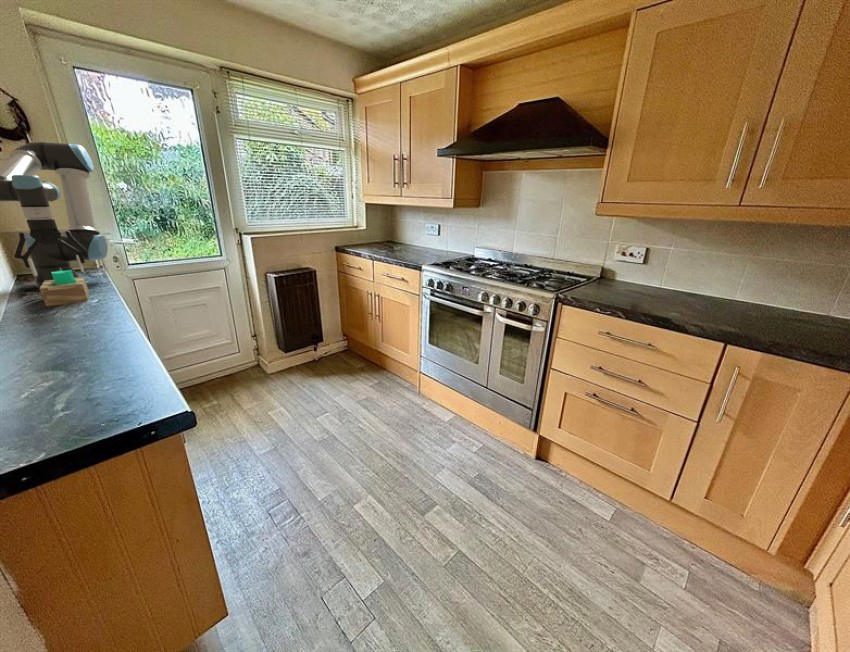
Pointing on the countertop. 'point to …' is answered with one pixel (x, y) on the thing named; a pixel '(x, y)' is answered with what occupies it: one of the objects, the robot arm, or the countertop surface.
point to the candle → (63, 277)
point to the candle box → (64, 292)
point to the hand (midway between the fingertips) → (59, 273)
